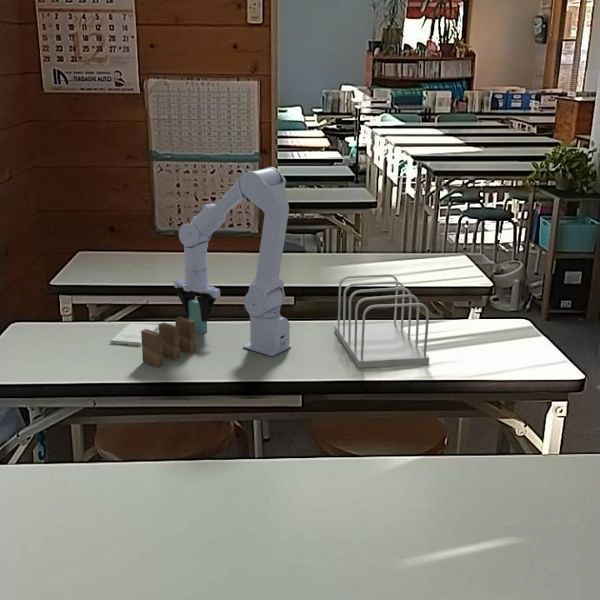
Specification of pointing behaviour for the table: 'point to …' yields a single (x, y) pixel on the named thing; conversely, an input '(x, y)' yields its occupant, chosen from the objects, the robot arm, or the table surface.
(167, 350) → the domino
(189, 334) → the domino
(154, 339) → the domino
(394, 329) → the file sorter
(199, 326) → the domino
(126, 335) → the external hard drive
